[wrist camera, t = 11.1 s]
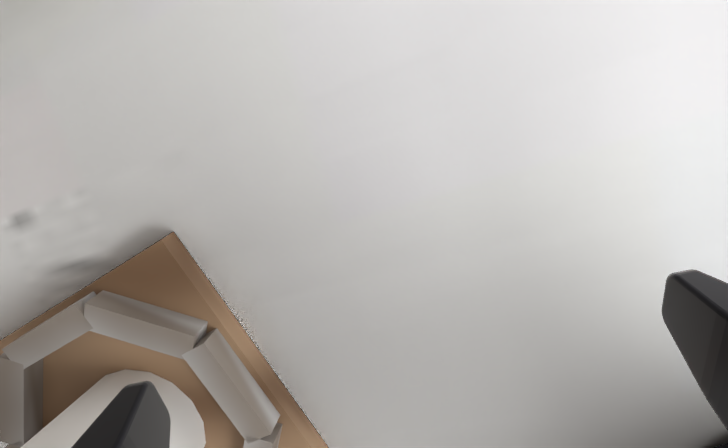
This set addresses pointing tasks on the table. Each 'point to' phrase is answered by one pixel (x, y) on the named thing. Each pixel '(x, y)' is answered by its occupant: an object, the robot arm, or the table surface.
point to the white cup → (70, 425)
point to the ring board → (149, 355)
